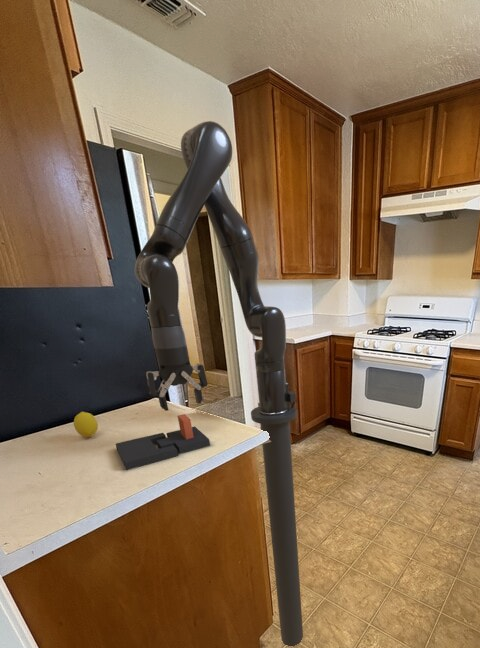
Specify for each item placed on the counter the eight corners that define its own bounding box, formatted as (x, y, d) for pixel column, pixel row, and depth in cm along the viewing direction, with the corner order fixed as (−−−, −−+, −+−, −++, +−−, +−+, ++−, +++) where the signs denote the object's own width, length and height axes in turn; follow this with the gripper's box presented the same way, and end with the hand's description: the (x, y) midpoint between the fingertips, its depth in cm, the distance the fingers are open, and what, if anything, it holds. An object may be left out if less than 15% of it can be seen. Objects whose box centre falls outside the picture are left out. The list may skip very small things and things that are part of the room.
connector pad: (196, 432, 104) (191, 408, 102) (210, 445, 95) (206, 419, 93) (154, 442, 98) (148, 417, 95) (165, 457, 89) (159, 430, 86)
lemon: (74, 440, 101) (65, 414, 98) (91, 433, 106) (83, 407, 103) (88, 442, 99) (80, 415, 96) (105, 434, 104) (98, 409, 101)
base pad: (164, 438, 101) (163, 432, 100) (178, 456, 90) (176, 448, 89) (117, 450, 94) (115, 443, 93) (126, 470, 84) (124, 462, 83)
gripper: (142, 350, 81) (158, 416, 87) (203, 342, 89) (213, 404, 95) (136, 346, 86) (151, 408, 93) (194, 339, 94) (204, 397, 101)
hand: (182, 406), depth 94 cm, fingers open, 8 cm apart
